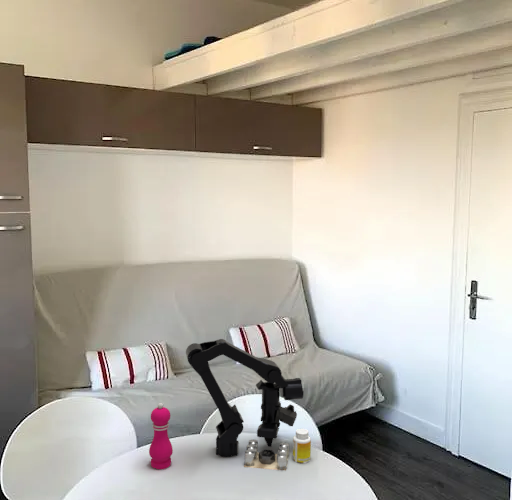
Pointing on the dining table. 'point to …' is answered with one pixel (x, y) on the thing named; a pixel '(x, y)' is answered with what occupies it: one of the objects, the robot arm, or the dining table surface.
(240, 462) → the dining table surface
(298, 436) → the supplement bottle
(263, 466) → the board
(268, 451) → the nut
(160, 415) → the pepper mill
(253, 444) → the spacers
